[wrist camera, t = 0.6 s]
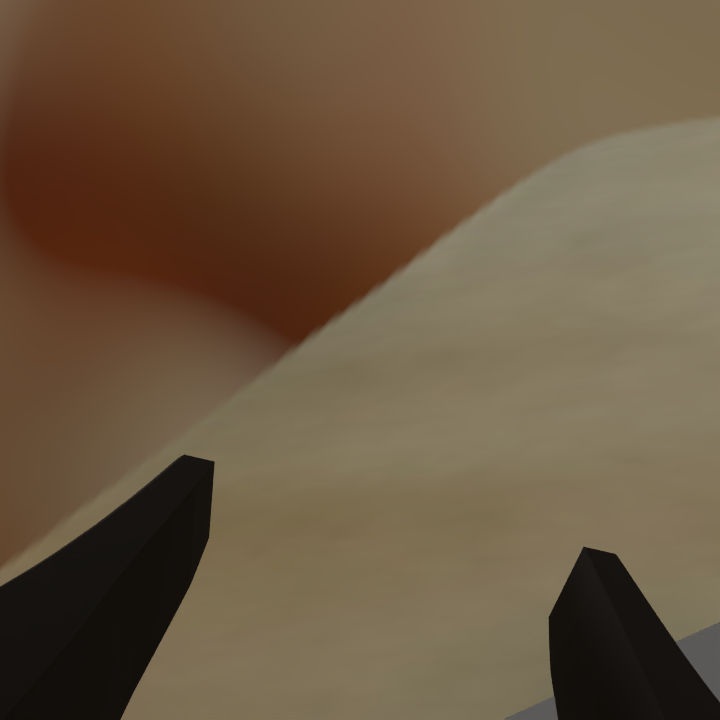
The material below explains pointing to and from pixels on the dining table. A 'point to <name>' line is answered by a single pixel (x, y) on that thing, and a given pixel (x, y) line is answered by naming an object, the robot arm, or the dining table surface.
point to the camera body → (703, 650)
